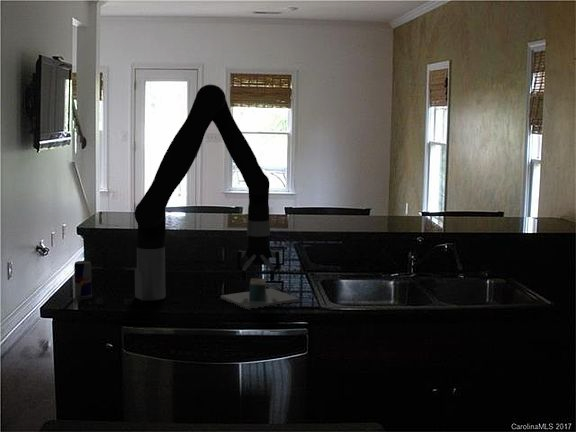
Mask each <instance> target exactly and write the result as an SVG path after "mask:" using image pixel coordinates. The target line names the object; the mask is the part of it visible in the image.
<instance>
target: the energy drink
mask: <svg viewBox="0 0 576 432" xmlns="http://www.w3.org/2000/svg"><path fill="white" fill-rule="evenodd" d="M73 268H74V270H73V272H74V297H75V299H76V300H89V299H92V297H93V294H92V290H93V289H92V288H93V287H92V286H93V285H92V263H91V261H88V260H76V261H75V262H74V265H73Z"/></svg>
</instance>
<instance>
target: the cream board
mask: <svg viewBox="0 0 576 432" xmlns="http://www.w3.org/2000/svg"><path fill="white" fill-rule="evenodd" d="M220 299H221V300H224V301H225V300H226V302H228V303H230V302H231V303H230V304H232V303H234V304H233V305H235V304H236V305H235V306H237V305H238V306H237V307H239V306H240V307H239V308H242V307H243V308H242V309H244V308H245V310H246V309H248V310H252V309H251V308H255V309H259V308H258V307H261V308H265V307H264V306H267V307H269V306H268V305H274V304H280V305H283V304H282V303H286V304H291V303H298V302H300V298H299V297H295V296H293V295H292V294H289V293H285V292H283V291H279V290H277V289H275V288H272V287H271V288H266V296H265V301H249V291H244V292H237V293H236V292H235V293H230V294H229V293H228V294H222V295H220ZM274 306H275V305H274Z"/></svg>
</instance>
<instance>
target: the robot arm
mask: <svg viewBox="0 0 576 432" xmlns="http://www.w3.org/2000/svg"><path fill="white" fill-rule="evenodd" d="M196 92H197V93H196V95H195V98H194V100H193V102H192V106H191V107H190V110H189V113H188V115H187V118H186V119H185V120H184V122H183V124H182V125H181V126H180V128H179V130H178V131H177V133H176V134H175V136H174V137H173V139H172V140H171V142H170V144H169V146H168V148H167V149H166V152H165V153H164V155H163V157H162V160H161V161H160V164H159V166H158V167H157V170H156V173H155V175H154V178H153V179H152V182H151V184H150V185H149V187H148V189H147V191H146V193H145V194H144V195H143V197H142V199H141V200H140V201H139V202H138V204H136V207H135V209H134V219H135V222H136V223H137V234H136V268H135V269H134V297H135V298H136V299H138V300H139V301H142V302H144V301H147V302H149V301H160V300H163V299H165V298H166V247H165V246H166V245H165V244H166V236H167V235H166V234H167V233H166V231H167V230H166V229H167V228H166V227H167V225H166V224H167V222H166V219H167V217H166V208H167V205H168V204H169V201H170V199H171V197H172V195H173V194H174V192H175V190H176V189H177V188H178V186H179V185H180V183H182V181H183V180H184V179H185V177H186V176H187V174H188V172H189V171H190V169H191V167H192V165H193V163H194V161H195V159H196V158H197V156H198V153H199V151H200V148H201V146H202V143H203V140H204V138H205V135H206V132H207V130H208V128H209V126H210V125H211V124H212V122H213V124H214V126H216V129H217V130H218V132H219V135H220V136H221V138H222V141H223V143H224V146H225V148H226V149H227V152H228V154H229V156H230V157H231V159H232V161H233V163H234V164H235V166H236V167H237V169H238V171H239V173H240V174H241V176H242V179H243V180H244V183H245V185H246V188H247V189H248V209H247V225H246V226H247V227H246V240H247V241H246V250H241V249H238V251H237V257H236V258H237V259H236V269H238V270H241V272H242V274H241V276H242V277H241V279H242V281H243V282H245V283H247V281H248V279H247V278H248V277H247V274H248V273H247V269H248V268H249V267H250V265H252V264H253V265H258V264H259V265H264V264H265V265H266V266H267V268H269V283H273V281H274V280H275V271H277V270H280V269H281V265H280V264H281V261H280V251H279V250H275V251H271V224H270V204H269V201H270V200H269V199H270V198H269V196H270V180H269V177H268V175H266V174H265V172H264V171H263V169H262V168H261V166H260V164H259V162H258V159H257V157H256V155H255V152H254V151H253V148H251V146H250V144H249V142H248V140H247V139H246V137H245V136H244V134H243V133H242V130H241V129H240V128H239V126H238V125H237V122H236V120H235V119H234V117H233V115H232V112H231V110H230V107H229V104H228V102H227V99H226V94H225V91H224V90H223V88H221V87H220V86H218V85H216V84H212V83H211V84H205V85H203V86H201V87H200V88H199V89H198V91H196ZM245 256H246V258H247V260H246V261H245V263H244V265H242V258H244V257H245ZM271 256H272V257H273V258H274V259H275V265H273V264H272V262H271V260H270V257H271Z"/></svg>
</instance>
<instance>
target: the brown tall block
mask: <svg viewBox="0 0 576 432" xmlns="http://www.w3.org/2000/svg"><path fill="white" fill-rule="evenodd" d="M248 287H249V288H248V289H249V291H248V292H249V301H265V296H266V289H267V279H266V278H250V281H249V286H248Z"/></svg>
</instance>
